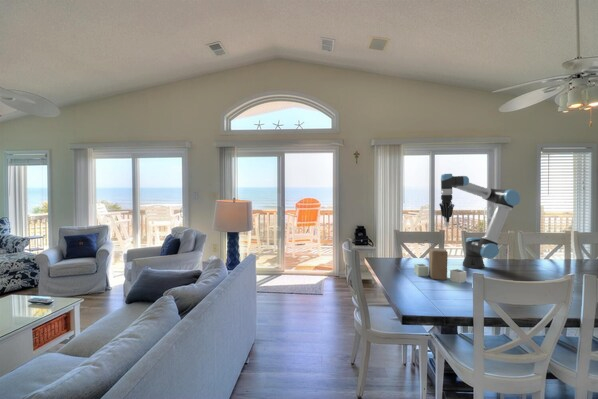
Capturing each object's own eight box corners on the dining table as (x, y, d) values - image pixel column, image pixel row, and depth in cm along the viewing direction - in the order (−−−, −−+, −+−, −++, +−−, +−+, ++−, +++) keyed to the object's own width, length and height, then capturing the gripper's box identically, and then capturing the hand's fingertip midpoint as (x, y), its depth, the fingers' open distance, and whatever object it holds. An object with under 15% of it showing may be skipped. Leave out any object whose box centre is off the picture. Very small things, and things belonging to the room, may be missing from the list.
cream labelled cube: (456, 278, 214) (456, 268, 213) (466, 281, 207) (466, 271, 207) (450, 280, 210) (450, 269, 210) (459, 283, 204) (459, 272, 204)
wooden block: (447, 280, 210) (448, 251, 209) (431, 279, 212) (432, 250, 211) (443, 276, 220) (444, 248, 219) (428, 275, 222) (429, 247, 221)
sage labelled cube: (423, 273, 227) (423, 263, 226) (427, 276, 220) (428, 266, 219) (414, 273, 226) (414, 263, 226) (418, 276, 219) (418, 266, 219)
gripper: (436, 194, 233) (436, 225, 234) (448, 195, 220) (448, 227, 221) (444, 194, 235) (444, 224, 236) (457, 194, 222) (457, 227, 223)
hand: (446, 226), depth 229 cm, fingers closed
